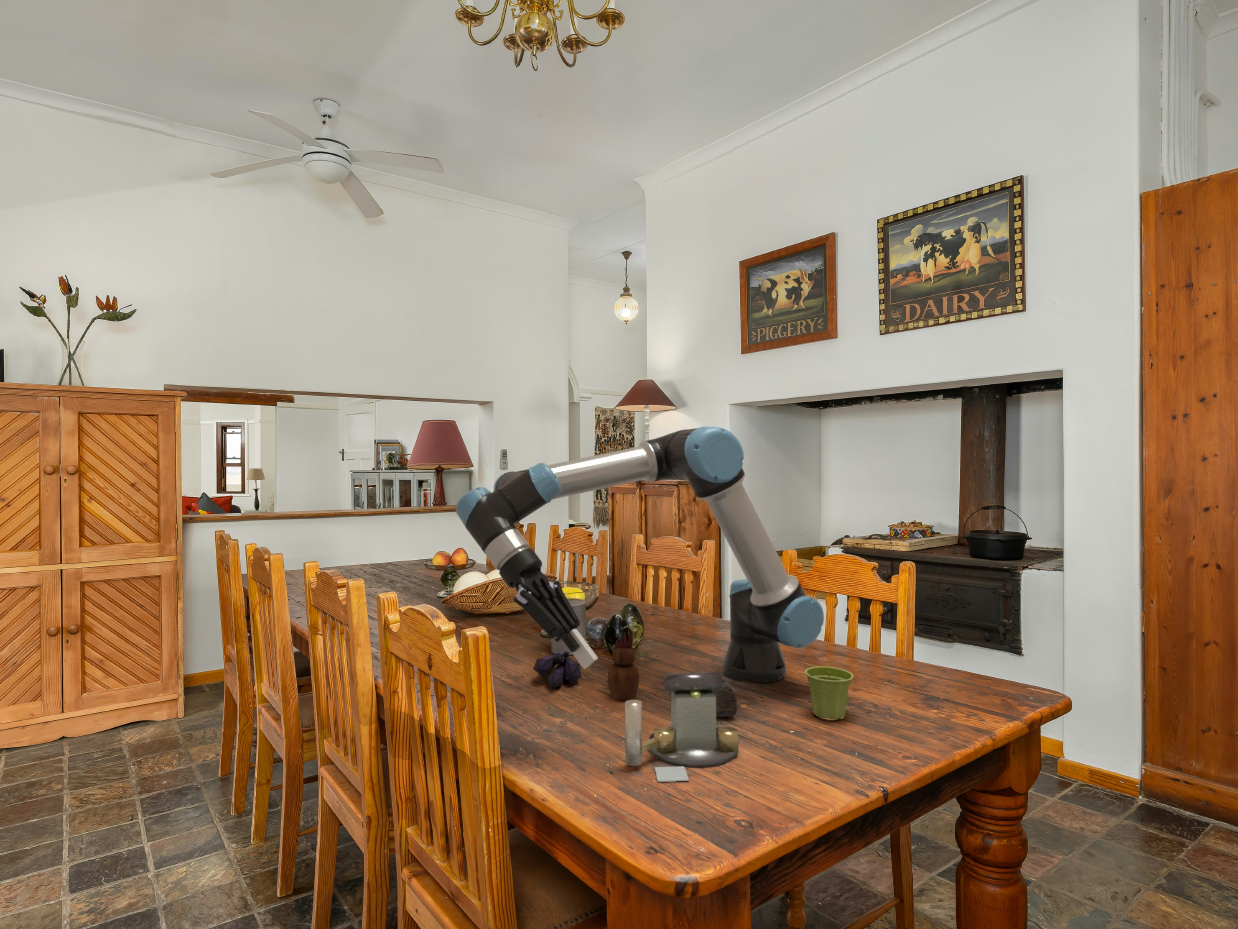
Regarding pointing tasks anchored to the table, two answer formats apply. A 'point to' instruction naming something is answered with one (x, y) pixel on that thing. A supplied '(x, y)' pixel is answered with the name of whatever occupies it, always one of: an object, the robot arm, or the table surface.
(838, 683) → the plant pot
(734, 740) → the tribrach
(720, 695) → the perforated stone tool
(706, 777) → the table surface
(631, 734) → the lever
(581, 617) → the pillar candle
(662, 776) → the pad
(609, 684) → the wooden figurine
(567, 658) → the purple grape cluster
